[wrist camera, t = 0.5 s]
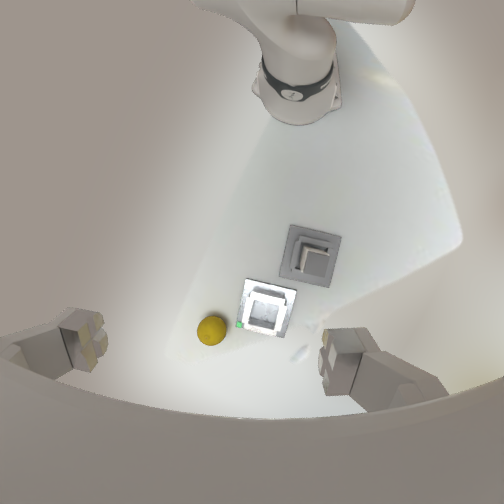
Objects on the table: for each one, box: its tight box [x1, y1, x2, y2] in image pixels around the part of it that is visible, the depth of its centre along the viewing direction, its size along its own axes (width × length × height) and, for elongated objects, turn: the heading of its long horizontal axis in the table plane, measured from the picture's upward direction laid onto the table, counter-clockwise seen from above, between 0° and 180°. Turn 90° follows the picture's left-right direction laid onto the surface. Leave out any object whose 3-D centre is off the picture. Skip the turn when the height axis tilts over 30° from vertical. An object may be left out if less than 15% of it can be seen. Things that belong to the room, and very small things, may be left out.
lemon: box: [197, 316, 226, 346], centre depth 53 cm, size 6×6×8 cm
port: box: [236, 279, 296, 338], centre depth 53 cm, size 10×10×4 cm
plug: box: [299, 245, 330, 278], centre depth 46 cm, size 4×4×12 cm
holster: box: [279, 225, 341, 288], centre depth 51 cm, size 10×10×4 cm
